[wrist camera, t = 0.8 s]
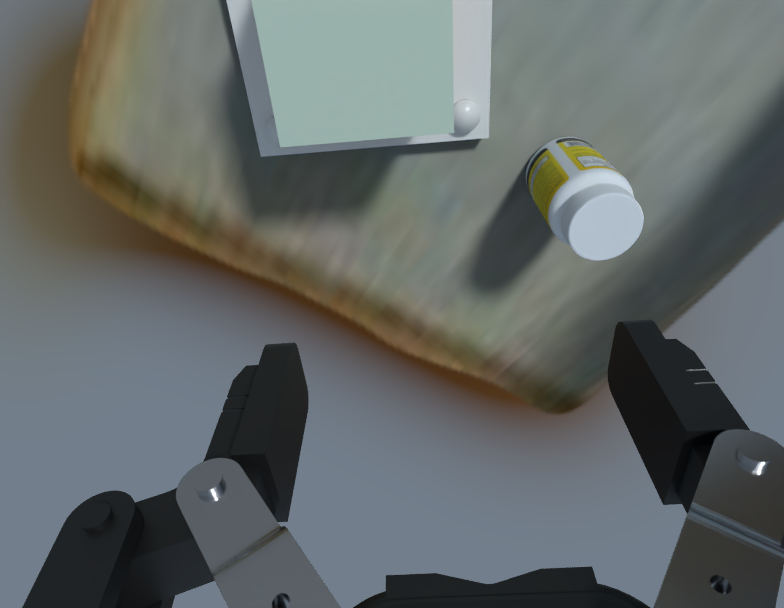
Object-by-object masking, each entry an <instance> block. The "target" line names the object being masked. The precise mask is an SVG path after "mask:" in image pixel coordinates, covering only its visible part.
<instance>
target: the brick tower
mask: <svg viewBox="0 0 784 608" xmlns="http://www.w3.org/2000/svg"><path fill="white" fill-rule="evenodd" d="M226 1H227V5H228V10H229V14H230V19H231V23H232V28H233V33H234V37H235V42H236V46H237V51H238V55H239V60H240V64H241V69H242V73H243V78H244V82H245V87H246V92H247V96H248V101H249V105H250V110H251V114H252V119H253V123H254V128H255V132H256V137H257V142H258V146H259V151H260V155H261V157H265V156H277V155H289V154H301V153H313V152H325V151H337V150H349V149H361V148H373V147H385V146H397V145H409V144H421V143H433V142H445V141H457V140H469V139H481V138H489V110H490V69H491V28H492V0H226Z"/></svg>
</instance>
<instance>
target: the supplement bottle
mask: <svg viewBox="0 0 784 608" xmlns="http://www.w3.org/2000/svg"><path fill="white" fill-rule="evenodd" d="M526 185H527V189H528V191H529V193H530V195H531V197H532V198H533V200H534V202H535V203H536V205H537V207H538V208H539V210H540V212H541V213H542V215H543V217H544V218H545V220H546V222H547V223H548V225H549V227H550V228H551V230H552V232H553V233H554V234H555V235H556V237H558V238H559V239H560V240H561V241H562V242H564V243H566V244H568V245H570V247H571V248H572V249H573V251H574V252H575V253H576V254H578V255H579V256H581V257H583V258H585V259H588V260H594V261H601V260H607V259H610V258H614V257H616V256H618V255H620V254H622V253H623V252H625V251H626V250H627V249H629V248H630V247H631V246H632V245H633V244H634V242H635V241H636V240H637V238H638V237H639V235H640V233H641V230H642V227H643V212H642V209H641V207H640V205H639V204H638V202H637V201H636V200H635V199H634V195H633V191H632V188H631V186H630V184H629V183H628V181H627V180H626V179H625V178H624V177H623V176H622V175H621V174H620V173H619V172H618V171H617V170H616V169H615V168H614V167H613V166H612V165H611V164H610V163H609V162H608V161H607V160H606V159H605V158H604V157H603V156H602V155H601V154H599V153H598V152H597V151H596V150H595V149H594V148H593V147H592V146H591V145H590V144H589V143H587V142H586V141H584V140H582V139H579V138H576V137H561V138H557V139H554V140H552V141H550V142H548V143H547V144H545V145H544V146H542V147H541V148H540V149H539V150H538V151H537V152H536V153H535V154H534V155H533V157H532V158H531V160H530V162H529V164H528V166H527V170H526Z"/></svg>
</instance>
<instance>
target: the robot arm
mask: <svg viewBox="0 0 784 608" xmlns="http://www.w3.org/2000/svg"><path fill="white" fill-rule="evenodd" d="M608 383H609V388H610V391H611V393H612V396H613V398H614V400H615V402H616V405H617V407H618V409H619V411H620V413H621V415H622V417H623V419H624V422H625V424H626V426H627V428H628V430H629V432H630V435H631V436H632V439H633V441H634V443H635V445H636V447H637V450H638V452H639V454H640V456H641V458H642V460H643V462H644V464H645V467H646V469H647V471H648V473H649V475H650V477H651V479H652V482H653V484H654V486H655V488H656V490H657V492H658V494H659V497H660V499H661V501H662V503H663V505H668V504H683V506H684V508H685V510H686V512H687V517H686V519H685V522H684V525H683V527H682V530H681V533H680V536H679V538H678V542H677V544H676V547H675V550H674V552H673V555H672V558H671V560H670V563H669V566H668V569H667V572H666V574H665V577H664V580H663V583H662V585H661V588H660V591H659V594H658V596H657V599H656V602H655V604H654V607H653V608H775V607H776V602H777V597H778V591H779V586H780V581H781V576H782V571H783V565H784V447H782V446H781V445H780V444H779V443H777V442H776V441H774V440H773V439H771V438H769V437H767V436H765V435H763V434H760V433H757V432H754V431H750V429H749V428H748V427H747V425H746V424H745V422H744V421H743V420H742V418H741V417H740V416H739V414H738V413H737V411H736V410H735V409H734V407H733V405H732V404H731V403H730V401H729V400H728V398H727V397H726V396H725V394H724V393H723V391H722V390H721V389H720V387H719V386H718V385H717V384H715V380H714V379H713V377H712V376H711V375H710V373H709V372H708V371H706V368H705V366H704V365H703V363H702V362H701V360H700V359H699V358H698V356H697V355H696V354H695V352H694V351H692V350H691V349H690V348H688V347H687V346H685V345H684V344H682V343H681V342H680V341H678V340H677V339H665V338H664V336H663V335H662V333H661V332H660V330H659V329H658V327H657V326H656V324H655V323H654V322H653V321H652V320H640V321H625V322H619V323H618V324H617V325H616V328H615V333H614V339H613V344H612V350H611V355H610V361H609V366H608ZM227 397H228V399H226V401H225V404H224V407H223V412H222V413H221V415H220V418H219V421H218V423H217V426H216V429H215V432H214V435H213V438H212V440H211V443H210V446H209V449H208V451H207V454H206V457H205V459H204V462H202V463H200V464H198V465H197V466H195V467H194V468H192V469H191V470H190V471H188V472H187V474H186V475H185V476H184V477H183V478H182V480H181V481H180V483H179V485H178V487H177V488H176V489H174V490H171V491H169V492H166V493H163V494H160V495H158V496H154V497H151V498H148V499H145V500H142V501H139V502H136V503H135V502H134V500H133V498H132V497H131V496H130V495H129V494H127V493H125V492H122V491H108V492H103V493H100V494H98V495H95V496H93V497H91V498H89V499H87V500H86V501H84V502H83V503H82V504H80V505H79V506H78V507H77V508H76V509H75V510H74V511H73V512H72V513H71V514H70V515H69V517H68V518H67V520H66V521H65V523H64V525H63V527H62V529H61V531H60V533H59V535H58V537H57V539H56V541H55V543H54V545H53V547H52V549H51V551H50V553H49V555H48V557H47V559H46V561H45V563H44V565H43V567H42V569H41V571H40V573H39V575H38V577H37V579H36V581H35V583H34V585H33V587H32V589H31V591H30V593H29V595H28V597H27V599H26V601H25V603H24V606H23V607H22V608H172V605H173V601H174V597H175V595H177V594H180V593H183V592H185V591H188V590H191V589H193V588H196V587H199V586H202V585H204V584H207V583H209V582H212V581H215V582H216V584H217V586H218V587H219V589H220V592H221V594H222V596H223V598H224V600H225V602H226V604H227V606H228V608H341V607H340V606H339V605H338V603H337V602H336V600H335V598H334V597H333V595H332V594H331V592H330V591H329V590H328V588H327V586H326V585H325V583H324V582H323V580H322V579H321V577H320V576H319V575H318V573H317V572H316V570H315V569H314V567H313V566H312V564H311V563H310V561H309V560H308V558H307V557H306V555H305V554H304V552H303V551H302V549H301V548H300V546H299V545H298V543H297V542H296V540H295V539H294V537H293V536H292V534H291V533H290V532H289V530H288V529H287V528H286V527H284V526H283V527H281V526H280V525H279V524H278V522H287V521H288V517H289V511H290V506H291V500H292V495H293V489H294V484H295V478H296V473H297V467H298V462H299V456H300V451H301V445H302V439H303V434H304V429H305V423H306V418H307V413H308V389H307V384H306V380H305V376H304V372H303V368H302V364H301V359H300V355H299V351H298V347H297V345H296V344H295V343H282V344H268V345H265V347H264V349H263V352H262V356H261V359H260V362H259V365H252V366H246V367H245V368H244V369H243V370H242V371H241V372H240V373H239V374H238V376H237V377H236V378H235V379H234V380H233V382H232V385H231V388H230V390H229V393H228V396H227ZM353 608H650V607H648V606H647V605H646V604H644V603H643V602H641V601H639V600H638V599H636V598H634V597H632V596H631V595H629V594H626V593H624V592H622V591H620V590H618V589H615V588H611V587H609V586H606V585H602V584H597V581H596V578H595V575H594V572H593V568H592V567H574V568H551V569H550V568H549V569H539V570H536V571H532V572H529V573H526V574H523V575H520V576H517V577H514V578H510V579H508V580H505V581H501V582H498V583H494V584H483V583H478V582H474V581H469V580H464V579H459V578H455V577H450V576H446V575H441V574H436V573H432V574H411V575H410V574H409V575H387V576H386V591H385V592H382V593H379V594H377V595H374V596H372V597H370V598H368V599H366V600H364V601H363V602H361V603H359V604H358V605H356V606H355V607H353Z"/></svg>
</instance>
